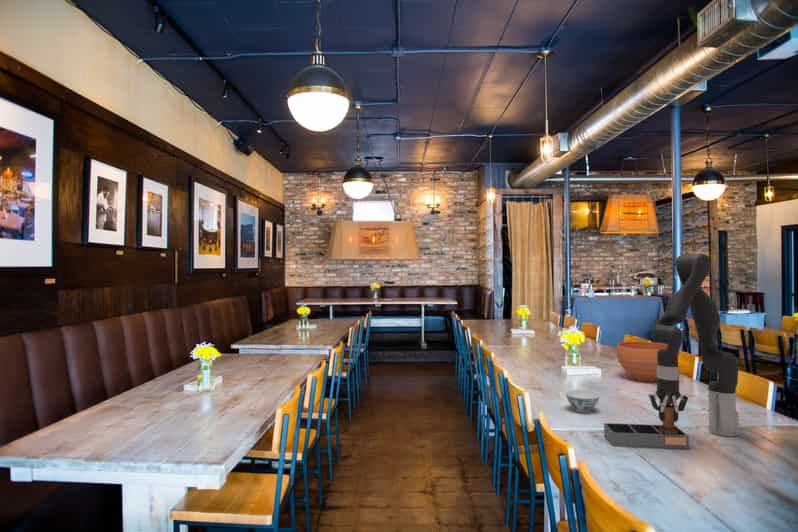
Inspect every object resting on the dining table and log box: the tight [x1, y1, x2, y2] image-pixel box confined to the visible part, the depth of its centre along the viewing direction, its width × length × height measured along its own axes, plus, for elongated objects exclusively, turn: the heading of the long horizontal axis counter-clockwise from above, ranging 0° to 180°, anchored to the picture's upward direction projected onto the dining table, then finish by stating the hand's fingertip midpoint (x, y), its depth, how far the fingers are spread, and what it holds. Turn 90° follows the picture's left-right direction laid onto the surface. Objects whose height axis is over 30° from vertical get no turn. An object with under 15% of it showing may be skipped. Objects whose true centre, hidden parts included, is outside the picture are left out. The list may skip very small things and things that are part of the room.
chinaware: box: [565, 389, 600, 413], centre depth 222 cm, size 15×15×8 cm
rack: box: [603, 422, 690, 450], centre depth 181 cm, size 27×12×5 cm, turn 81°
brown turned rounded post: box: [659, 391, 679, 435], centre depth 180 cm, size 7×6×18 cm
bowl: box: [616, 340, 668, 382], centre depth 278 cm, size 30×30×20 cm
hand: (668, 420), depth 180 cm, fingers closed on brown turned rounded post, 4 cm apart
